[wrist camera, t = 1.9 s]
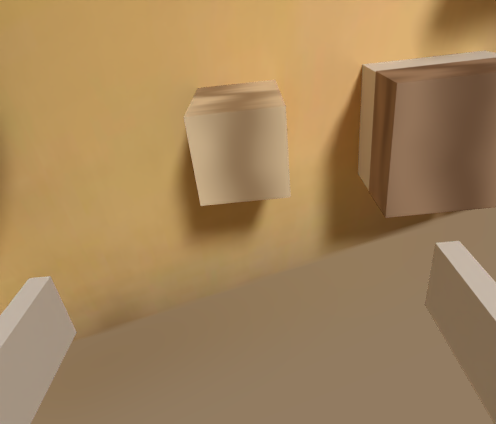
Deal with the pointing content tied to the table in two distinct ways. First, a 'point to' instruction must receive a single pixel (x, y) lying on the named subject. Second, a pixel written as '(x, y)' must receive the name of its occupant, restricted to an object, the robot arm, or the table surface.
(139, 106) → the table surface
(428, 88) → the walnut block upper
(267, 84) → the oak block
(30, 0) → the table surface
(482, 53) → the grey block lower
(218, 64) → the table surface
